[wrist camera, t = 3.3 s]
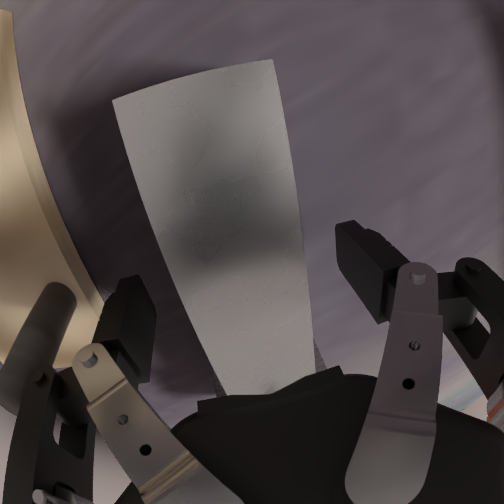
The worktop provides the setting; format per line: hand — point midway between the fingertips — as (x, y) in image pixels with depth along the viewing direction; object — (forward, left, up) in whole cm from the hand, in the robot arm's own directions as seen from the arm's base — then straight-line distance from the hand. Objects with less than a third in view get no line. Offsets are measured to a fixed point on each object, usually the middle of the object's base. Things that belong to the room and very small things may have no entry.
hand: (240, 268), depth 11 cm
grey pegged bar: (+2, 0, -2) cm, 2 cm away
